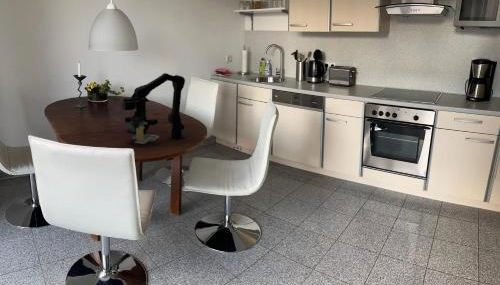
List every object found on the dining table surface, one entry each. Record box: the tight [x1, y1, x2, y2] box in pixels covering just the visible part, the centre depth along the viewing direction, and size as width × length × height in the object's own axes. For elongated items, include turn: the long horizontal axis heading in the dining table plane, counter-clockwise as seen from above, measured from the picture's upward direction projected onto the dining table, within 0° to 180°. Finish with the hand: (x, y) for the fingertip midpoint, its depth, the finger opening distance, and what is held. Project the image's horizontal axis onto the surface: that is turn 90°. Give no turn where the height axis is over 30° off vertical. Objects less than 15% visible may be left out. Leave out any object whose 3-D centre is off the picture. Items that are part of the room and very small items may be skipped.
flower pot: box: [125, 122, 144, 133], centre depth 245 cm, size 9×9×9 cm
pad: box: [134, 139, 150, 145], centre depth 225 cm, size 6×6×1 cm
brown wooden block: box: [135, 126, 148, 140], centre depth 224 cm, size 4×4×7 cm
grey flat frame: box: [131, 134, 160, 142], centre depth 232 cm, size 14×8×2 cm, turn 79°
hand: (141, 134), depth 224 cm, fingers closed on brown wooden block, 4 cm apart
